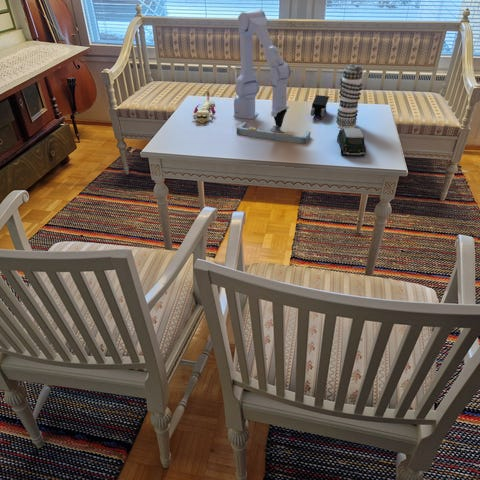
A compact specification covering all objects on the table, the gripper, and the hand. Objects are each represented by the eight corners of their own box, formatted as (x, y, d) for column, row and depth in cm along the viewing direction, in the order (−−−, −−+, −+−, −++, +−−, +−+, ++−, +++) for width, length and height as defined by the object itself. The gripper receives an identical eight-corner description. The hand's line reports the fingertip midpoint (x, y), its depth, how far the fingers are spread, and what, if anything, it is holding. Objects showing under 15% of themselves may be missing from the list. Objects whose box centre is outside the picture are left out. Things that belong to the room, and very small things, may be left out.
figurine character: (324, 124, 190) (328, 110, 201) (325, 108, 185) (330, 94, 196) (309, 123, 192) (314, 108, 202) (310, 107, 187) (315, 93, 197)
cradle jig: (236, 133, 180) (236, 126, 178) (243, 127, 185) (243, 120, 183) (304, 144, 170) (305, 136, 168) (310, 136, 175) (310, 129, 174)
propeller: (261, 138, 166) (263, 127, 164) (273, 131, 188) (275, 122, 187) (272, 139, 165) (273, 129, 163) (282, 133, 187) (284, 123, 186)
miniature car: (358, 139, 173) (361, 120, 168) (365, 158, 158) (369, 138, 154) (336, 139, 174) (338, 120, 169) (341, 158, 159) (344, 138, 154)
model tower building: (331, 123, 188) (338, 64, 173) (349, 120, 190) (357, 62, 175) (341, 130, 181) (349, 69, 166) (360, 127, 183) (369, 67, 168)
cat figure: (199, 108, 210) (190, 123, 189) (198, 90, 206) (189, 103, 184) (219, 109, 210) (212, 123, 188) (218, 90, 205) (211, 103, 184)
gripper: (283, 102, 166) (282, 134, 175) (293, 90, 177) (292, 121, 185) (266, 100, 169) (266, 132, 177) (277, 89, 179) (277, 119, 188)
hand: (278, 126), depth 181 cm, fingers closed, pressing on propeller
